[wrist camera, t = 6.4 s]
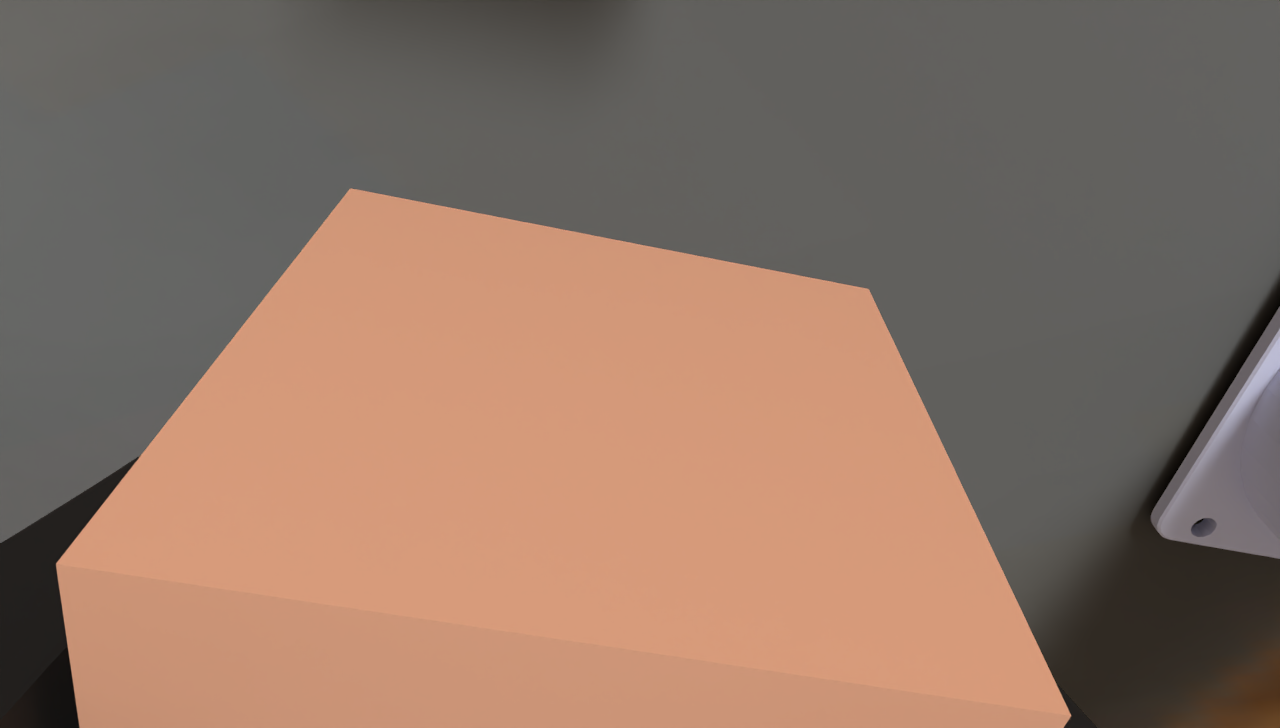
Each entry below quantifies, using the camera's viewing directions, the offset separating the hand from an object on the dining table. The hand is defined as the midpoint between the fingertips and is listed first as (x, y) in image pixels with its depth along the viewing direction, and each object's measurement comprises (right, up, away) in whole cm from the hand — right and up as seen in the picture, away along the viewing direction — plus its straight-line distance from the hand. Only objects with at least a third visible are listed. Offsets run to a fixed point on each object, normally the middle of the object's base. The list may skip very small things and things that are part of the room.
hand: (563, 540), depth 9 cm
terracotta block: (0, +1, +1) cm, 2 cm away
